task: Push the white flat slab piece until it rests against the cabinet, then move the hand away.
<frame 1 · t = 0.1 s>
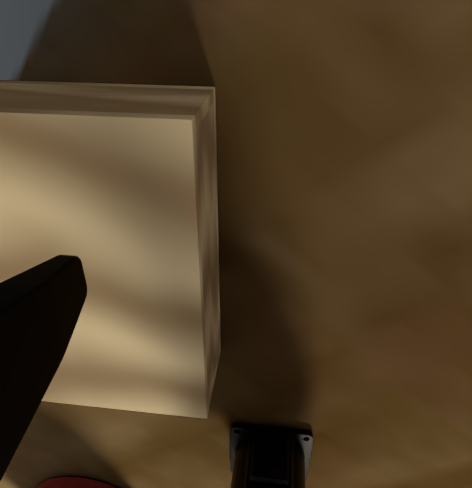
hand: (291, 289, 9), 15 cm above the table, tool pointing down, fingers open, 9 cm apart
cabinet: (121, 236, 27), on the table
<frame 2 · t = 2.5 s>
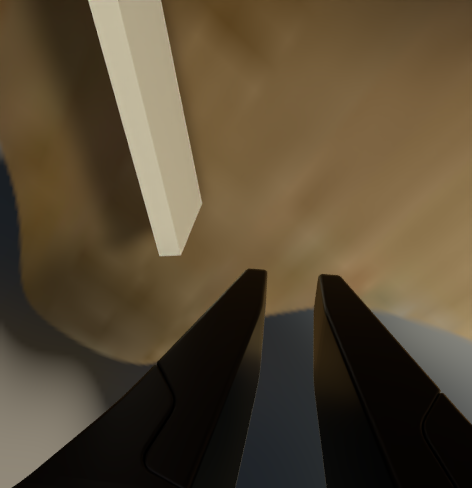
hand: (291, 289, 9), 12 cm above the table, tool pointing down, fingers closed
white flat slab piece: (130, 3, 15), point 3 cm above the table, hinge at 85.0°
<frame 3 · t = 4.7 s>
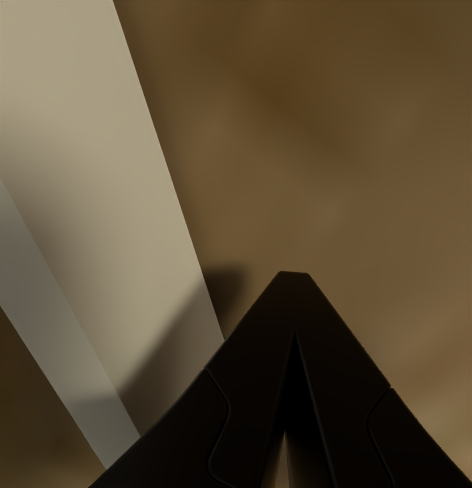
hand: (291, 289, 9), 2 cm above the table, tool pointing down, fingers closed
white flat slab piece: (55, 102, 6), point 3 cm above the table, hinge at 84.9°, touching gripper
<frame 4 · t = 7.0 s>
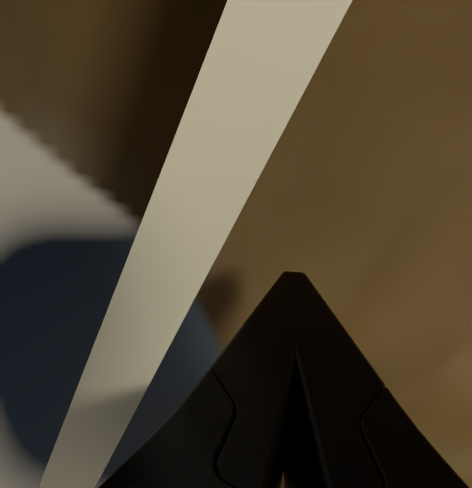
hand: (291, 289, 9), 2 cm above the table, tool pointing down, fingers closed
white flat slab piece: (242, 92, 6), point 3 cm above the table, hinge at 41.0°, touching gripper
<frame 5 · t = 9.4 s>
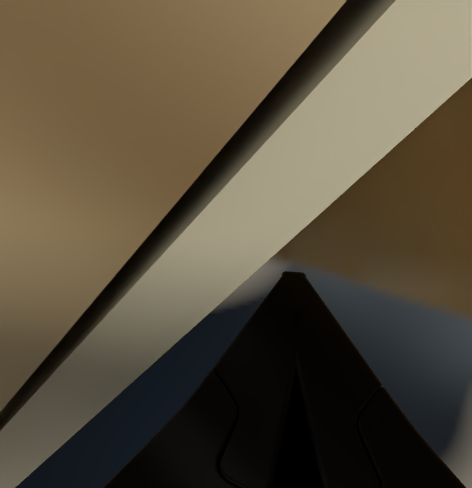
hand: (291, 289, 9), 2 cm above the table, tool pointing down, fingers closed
white flat slab piece: (328, 71, 6), point 3 cm above the table, hinge at -0.6°, touching gripper
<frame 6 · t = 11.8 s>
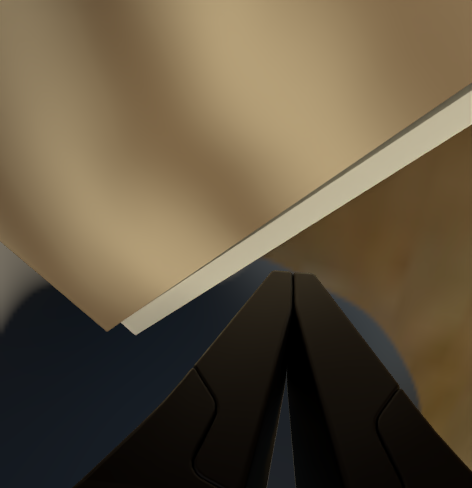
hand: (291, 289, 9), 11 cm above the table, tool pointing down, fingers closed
cabinet: (190, 44, 17), on the table
white flat slab piece: (295, 194, 17), point 3 cm above the table, hinge at -0.8°
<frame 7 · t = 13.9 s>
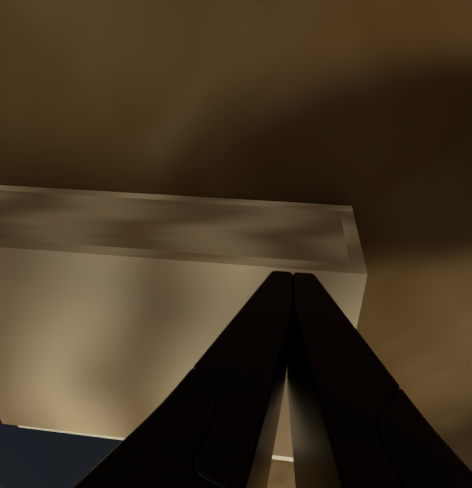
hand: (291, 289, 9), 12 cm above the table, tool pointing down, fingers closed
cabinet: (176, 289, 25), on the table
white flat slab piece: (175, 406, 26), point 3 cm above the table, hinge at -0.8°
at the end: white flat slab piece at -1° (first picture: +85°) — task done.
